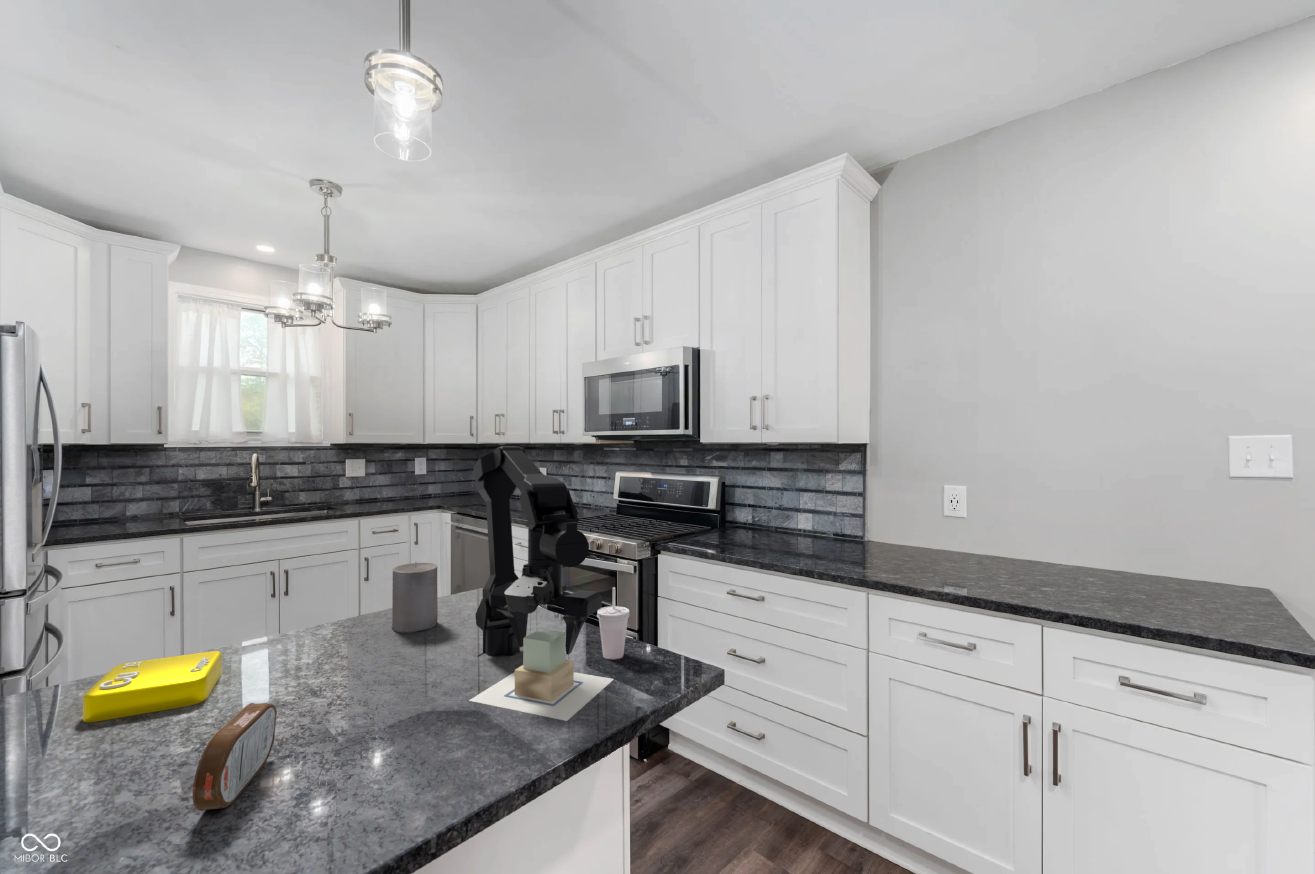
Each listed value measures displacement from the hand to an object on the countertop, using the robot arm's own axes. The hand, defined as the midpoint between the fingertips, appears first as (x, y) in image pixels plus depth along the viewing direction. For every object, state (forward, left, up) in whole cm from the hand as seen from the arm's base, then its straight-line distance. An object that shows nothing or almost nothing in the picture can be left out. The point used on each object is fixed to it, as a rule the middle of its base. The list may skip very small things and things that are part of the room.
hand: (544, 650), depth 93 cm
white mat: (0, 0, -8) cm, 8 cm away
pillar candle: (-48, +20, -8) cm, 52 cm away
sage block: (0, 0, -2) cm, 2 cm away
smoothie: (+4, +18, -8) cm, 20 cm away
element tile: (-60, -24, -8) cm, 65 cm away
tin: (-21, -35, -8) cm, 42 cm away
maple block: (0, 0, -6) cm, 6 cm away
